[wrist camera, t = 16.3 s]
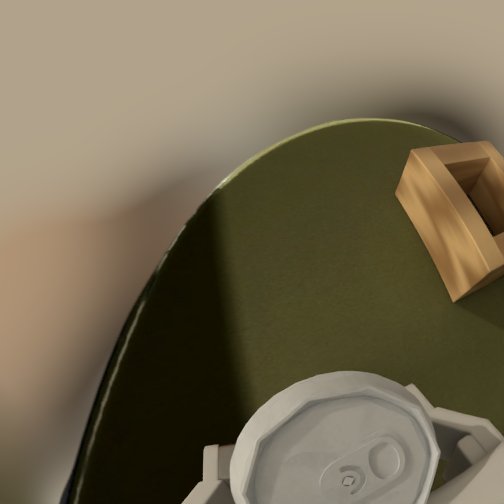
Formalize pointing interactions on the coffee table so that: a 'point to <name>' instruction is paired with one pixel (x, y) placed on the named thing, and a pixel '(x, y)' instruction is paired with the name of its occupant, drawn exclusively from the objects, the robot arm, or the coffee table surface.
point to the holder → (458, 211)
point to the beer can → (337, 445)
